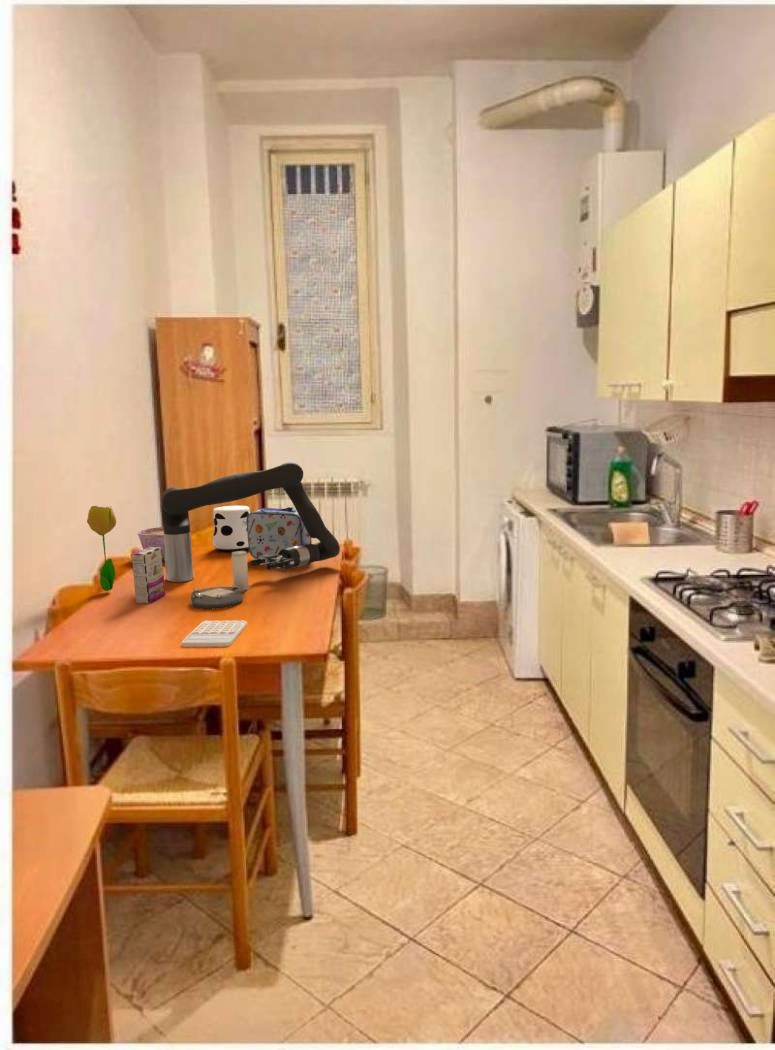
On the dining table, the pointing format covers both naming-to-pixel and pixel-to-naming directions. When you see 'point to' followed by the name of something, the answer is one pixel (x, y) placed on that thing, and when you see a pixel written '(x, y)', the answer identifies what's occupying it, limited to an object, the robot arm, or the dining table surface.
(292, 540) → the lunch box
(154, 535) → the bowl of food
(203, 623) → the calculator
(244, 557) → the column
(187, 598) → the dining table surface
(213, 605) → the base plate
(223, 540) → the milk container
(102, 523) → the flower
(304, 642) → the dining table surface
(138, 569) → the candy bar box
